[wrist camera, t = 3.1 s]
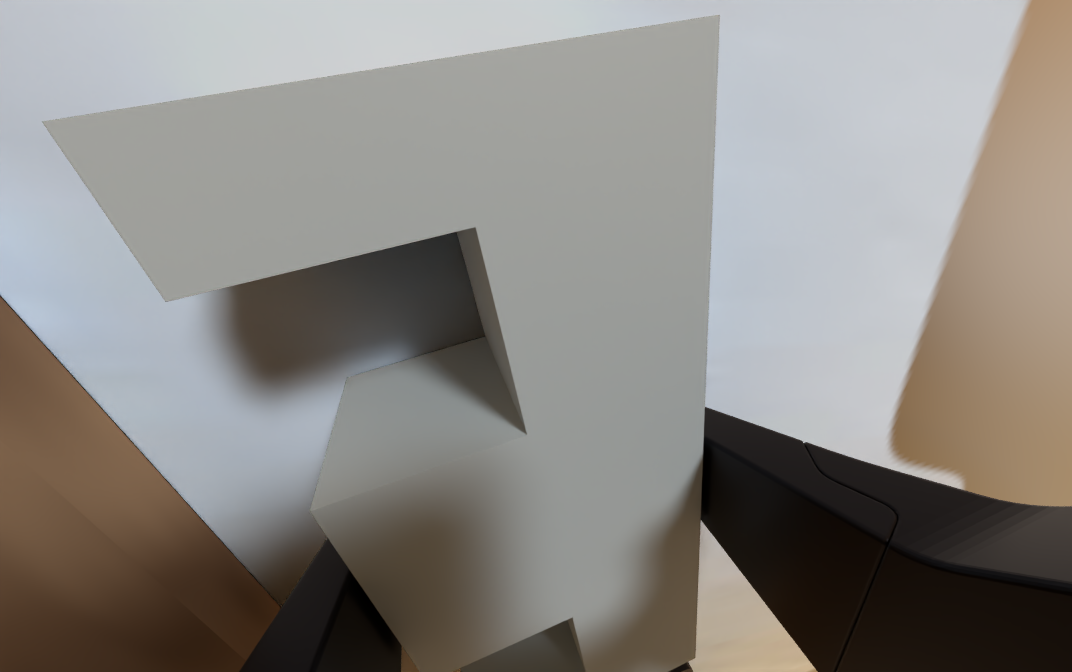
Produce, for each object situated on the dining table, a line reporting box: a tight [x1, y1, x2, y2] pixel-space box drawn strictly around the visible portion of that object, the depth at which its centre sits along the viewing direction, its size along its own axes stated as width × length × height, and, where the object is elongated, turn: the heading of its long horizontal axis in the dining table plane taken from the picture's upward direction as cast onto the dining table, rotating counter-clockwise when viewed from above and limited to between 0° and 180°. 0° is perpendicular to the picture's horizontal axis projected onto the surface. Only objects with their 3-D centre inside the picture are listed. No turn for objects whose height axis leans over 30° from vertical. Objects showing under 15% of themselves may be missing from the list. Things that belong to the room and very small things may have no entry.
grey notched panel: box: [42, 15, 720, 672], centre depth 8 cm, size 14×6×4 cm, turn 11°
